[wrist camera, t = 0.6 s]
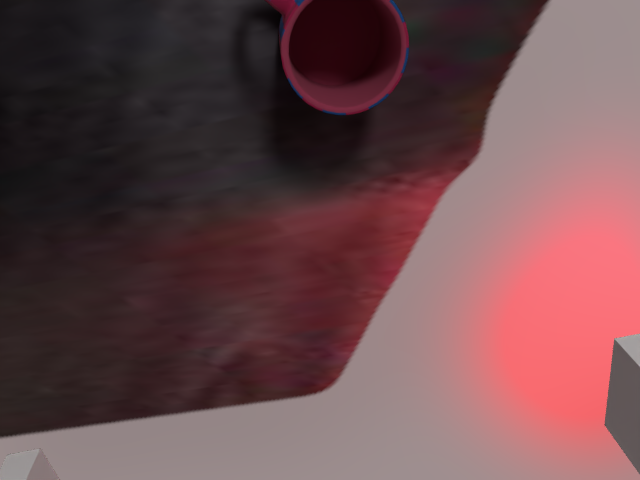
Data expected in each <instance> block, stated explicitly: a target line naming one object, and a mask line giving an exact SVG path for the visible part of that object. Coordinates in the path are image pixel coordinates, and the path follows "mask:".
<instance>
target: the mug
mask: <svg viewBox="0 0 640 480" xmlns="http://www.w3.org/2000/svg"><path fill="white" fill-rule="evenodd" d="M265 1H266V2H267V3H269V4H270V5H271V6H272V7H273V8H275V9H276V10H277V11H278V12H280V13H281V14H282V16H281V19H280V25H279V44H280V53H281V60H282V66H283V69H284V72H285V75H286V78H287V80H288V82H289V83H290V85H291V87H292V89H293V90H294V91H295V92H296V93H297V95H298V96H299V97H300V98H301V99H302V100H303V101H305V102H306V103H307V104H308V105H310V106H312V107H313V108H315V109H317V110H320V111H322V112H325V113H329V114H334V115H351V114H358V113H361V112H363V111H366V110H369V109H371V108H372V107H374V106H376V105H378V104H379V103H380V102H382V101H383V100H384V99H385V98H387V96H388V95H389V94H390V93H391V92H392V91H393V90H394V89H395V87H396V86H397V84H398V83H399V81H400V79H401V77H402V75H403V73H404V70H405V67H406V63H407V60H408V52H409V37H408V31H407V27H406V23H405V21H404V18H403V16H402V13H401V12H400V10H399V9H398V7H397V6H396V4H395V3H394V1H393V0H265Z"/></svg>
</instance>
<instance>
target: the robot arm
mask: <svg viewBox="0 0 640 480" xmlns="http://www.w3.org/2000/svg"><path fill="white" fill-rule="evenodd" d="M605 426H606V428H607V429H608V430H609V432H610V433H611V434H612V436H613V437H614V439H615V440H616V442H617V443H618V444H619V446H620V447H621V449H622V450H623V451H624V453H625V454H626V456H627V457H628V459H629V460H630V461H631V462H632V464H633V466H634V467H635V468H636V470H637V471H638V472H639V474H640V334H636V335H630V336H625V337H620V338H615V339H614V346H613V355H612V364H611V373H610V381H609V390H608V399H607V408H606V417H605ZM0 480H60V479H59V477H58V476H57V474H56V473H55V471H54V469H53V468H52V466H51V465H50V463H49V462H48V460H47V458H46V456H45V455H44V453H43V452H42V450H41V449H35V450H30V451H25V452H19V453H14V454H9V455H7V456H6V458H5V460H4V462H3V464H2V466H1V468H0Z"/></svg>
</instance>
